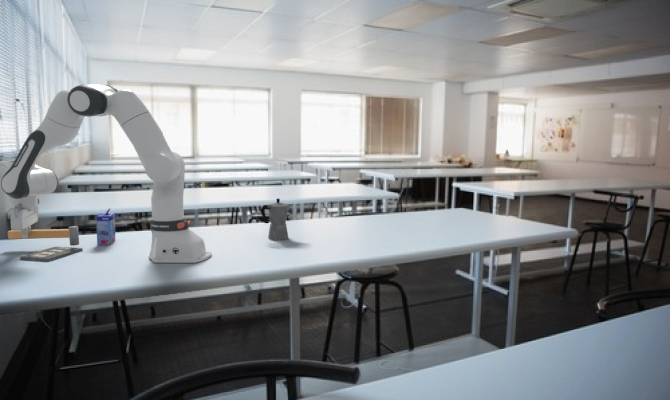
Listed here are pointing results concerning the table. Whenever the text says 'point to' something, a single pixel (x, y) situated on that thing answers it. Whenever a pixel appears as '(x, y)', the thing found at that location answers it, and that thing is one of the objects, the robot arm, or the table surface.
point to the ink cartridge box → (105, 228)
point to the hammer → (50, 234)
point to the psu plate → (51, 253)
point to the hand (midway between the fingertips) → (26, 237)
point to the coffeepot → (277, 220)
